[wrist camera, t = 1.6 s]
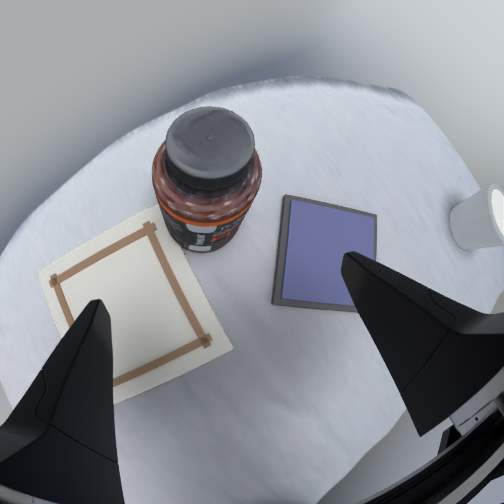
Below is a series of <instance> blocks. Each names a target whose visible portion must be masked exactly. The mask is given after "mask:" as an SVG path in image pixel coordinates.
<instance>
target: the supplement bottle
mask: <svg viewBox="0 0 504 504" xmlns="http://www.w3.org/2000/svg"><path fill="white" fill-rule="evenodd" d="M254 147H255V141H254V135H253V132H252V130H251V128H250V126H249V125H248V123H247V122H246V121H245V120H244V119H243V118H242V117H240V116H239V115H237V114H235V113H234V112H233V111H229V110H227V109H225V108H221V107H211V106H209V107H199V108H196V109H192V110H190V111H187V112H185V113H183V114H182V115H180V116H179V117H178V118H177V119H176V120H175V121H174V122H173V123H172V125H171V126H170V128H169V130H168V132H167V135H166V140H165V141H164V142H163V143H162V145H161V146H160V147H159V149H158V151H157V153H156V155H155V158H154V161H153V166H152V182H153V187H154V190H155V194H156V198H157V201H158V203H159V206H160V210H161V213H162V216H163V219H164V222H165V225H166V227H167V230H168V232H169V234H170V235H171V237H172V238H173V239H174V240H175V241H176V242H177V243H178V244H179V245H180V246H182V247H184V248H185V249H188V250H191V251H195V252H209V251H214V250H217V249H219V248H221V247H222V246H224V245H225V244H226V243H228V242H229V241H230V240H231V239H232V238H233V236H234V235H235V234H236V232H237V230H238V228H239V226H240V225H241V222H242V221H243V219H244V217H245V215H246V213H247V212H248V210H249V208H250V206H251V204H252V202H253V200H254V198H255V197H256V195H257V192H258V190H259V186H260V183H261V178H262V168H261V162H260V159H259V156H258V154H257V151H256V149H255V148H254Z"/></svg>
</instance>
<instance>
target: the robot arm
mask: <svg viewBox="0 0 504 504" xmlns="http://www.w3.org/2000/svg"><path fill="white" fill-rule="evenodd" d="M341 275H342V278H343V280H344V282H345V285H346V287H347V289H348V292H349V294H350V296H351V299H352V301H353V303H354V305H355V307H356V309H357V311H358V313H359V315H360V317H361V318H362V320H363V322H364V324H365V326H366V328H367V330H368V331H369V333H370V335H371V337H372V339H373V341H374V343H375V345H376V346H377V348H378V350H379V352H380V354H381V356H382V358H383V360H384V362H385V364H386V366H387V368H388V370H389V372H390V374H391V376H392V378H393V380H394V382H395V384H396V386H397V388H398V390H399V392H400V393H401V394H400V395H401V397H402V399H403V401H404V403H405V406H406V408H407V410H408V412H409V414H410V416H411V419H412V421H413V423H414V425H415V428H416V430H417V432H418V434H419V436H420V437H421V436H423V435H424V434H426V433H427V432H429V431H430V430H432V429H433V428H434V427H436V426H437V425H439V424H440V423H441V422H443V421H444V420H446V419H447V418H448V417H449V418H450V420H451V421H452V423H453V425H452V426H450V427H449V428H448V429H446V430H445V431H444V432H443V434H442V439H441V443H440V447H439V450H438V455H437V456H436V457H435V458H433V459H432V460H430V461H429V462H428V463H426V464H425V465H423V466H422V467H420V468H419V469H417V470H416V471H414V472H413V473H411V474H409V475H408V476H406V477H404V478H403V479H401V480H399V481H398V482H396V483H395V484H393V485H391V486H389V487H387V488H385V489H384V490H382V491H380V492H378V493H376V494H374V495H372V496H370V497H368V498H366V499H364V500H362V501H359V502H357V503H355V504H467V503H468V502H469V501H470V500H471V499H472V498H473V497H475V496H476V495H477V494H478V493H479V492H480V491H481V490H482V489H483V488H484V487H485V486H486V485H487V484H488V483H489V482H490V481H491V480H493V479H496V478H498V477H501V476H503V475H504V313H497V314H484V313H481V312H478V311H476V310H474V309H472V308H469V307H467V306H465V305H463V304H461V303H458V302H456V301H454V300H452V299H450V298H448V297H445V296H443V295H442V294H440V293H438V292H436V291H434V290H432V289H430V288H428V287H426V286H424V285H422V284H420V283H418V282H416V281H414V280H413V279H411V278H409V277H407V276H405V275H403V274H401V273H399V272H397V271H395V270H393V269H391V268H389V267H387V266H385V265H383V264H381V263H379V262H377V261H374V260H372V259H370V258H368V257H366V256H364V255H362V254H360V253H358V252H356V251H350V252H346V253H344V255H343V260H342V265H341ZM0 504H125V502H124V497H123V491H122V485H121V479H120V472H119V465H118V457H117V448H116V437H115V424H114V403H113V347H112V331H111V318H110V314H109V312H108V311H107V309H106V307H105V305H104V303H103V301H102V300H101V299H94V300H91V301H89V303H88V304H87V305H86V306H85V308H84V309H83V310H82V312H81V313H80V314H79V316H78V317H77V318H76V320H75V321H74V322H73V324H72V325H71V326H70V328H69V329H68V331H67V332H66V333H65V335H64V336H63V338H62V339H61V340H60V342H59V343H58V345H57V346H56V348H55V349H54V351H53V352H52V353H51V355H50V356H49V358H48V359H47V361H46V362H45V364H44V366H43V367H42V370H40V372H39V373H38V375H37V376H36V378H35V379H34V381H33V382H32V384H31V386H30V387H29V389H28V390H27V391H26V393H25V394H24V396H23V397H22V399H21V400H20V401H19V403H18V404H17V406H16V407H15V408H14V410H13V411H12V413H11V414H10V416H9V417H8V419H7V420H6V421H5V422H4V423H3V424H2V425H1V426H0ZM501 504H504V503H501Z"/></svg>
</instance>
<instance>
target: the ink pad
mask: <svg viewBox="0 0 504 504" xmlns="http://www.w3.org/2000/svg"><path fill="white" fill-rule="evenodd" d="M376 250H377V215H375V214H371V213H367V212H363V211H359V210H355V209H351V208H347V207H342V206H338V205H334V204H329V203H325V202H320V201H316V200H311V199H306V198H301V197H297V196H292V195H287V194H285V196H284V197H283V205H282V216H281V226H280V235H279V245H278V254H277V263H276V272H275V281H274V290H273V298H272V304H277V305H286V306H295V307H305V308H315V309H326V310H337V311H349V312H358V311H357V309H356V307H355V305H354V303H353V301H352V299H351V296H350V294H349V292H348V289H347V287H346V285H345V282H344V280H343V278H342V275H341V265H342V260H343V255H344V253H346V252H350V251H356V252H358V253H360V254H362V255H364V256H366V257H368V258H370V259H372V260H374V261H376Z"/></svg>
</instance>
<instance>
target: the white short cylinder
mask: <svg viewBox="0 0 504 504" xmlns="http://www.w3.org/2000/svg"><path fill="white" fill-rule="evenodd" d="M449 222H450V230H451V233H452V236H453V238H454V240H455V242H456V244H457V245H458V246H459V247H460V248H461V249H464V250H471V249H478V248H486V247H494V246H501V245H504V191H503V190H502V189H501V187H500V186H498V185H496V184H491V185H489V186H487V187H486V188H485V189H483V190H481V191H479V192H478V193H476V194H474V195H473V196H471V197H470V198H468V199H466V200H465V201H463V202H461V203H460V204H458V205H456V206H455V207H453V209H452V210H451V212H450V217H449Z"/></svg>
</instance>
